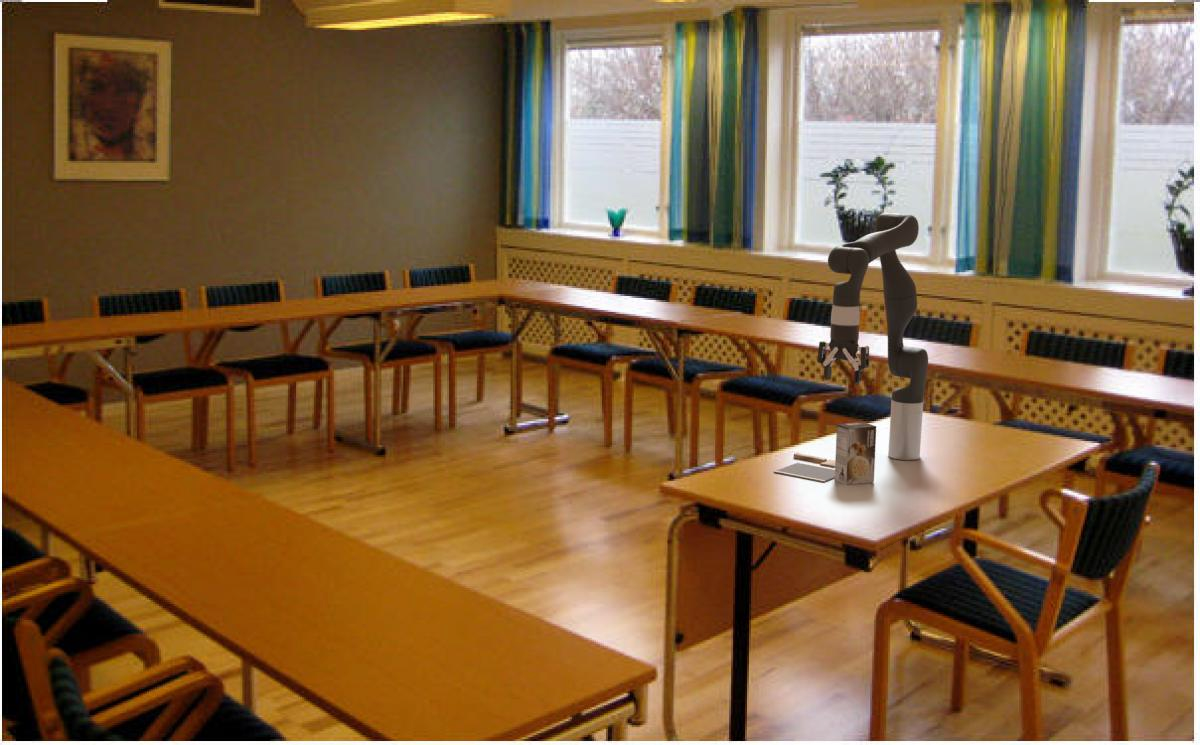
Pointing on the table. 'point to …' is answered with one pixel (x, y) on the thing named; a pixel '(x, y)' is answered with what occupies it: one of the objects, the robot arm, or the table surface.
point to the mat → (808, 472)
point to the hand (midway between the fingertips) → (842, 381)
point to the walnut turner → (816, 460)
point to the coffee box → (855, 453)
